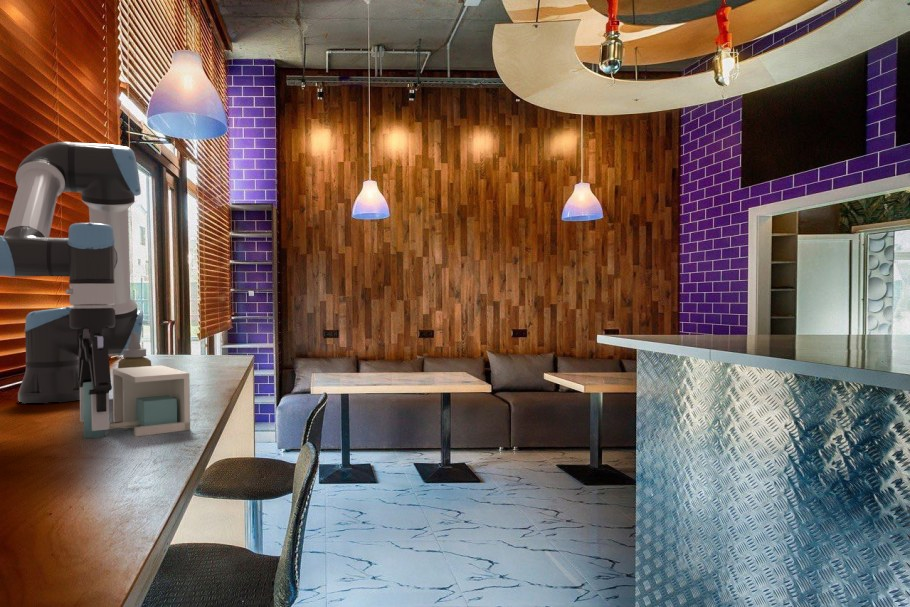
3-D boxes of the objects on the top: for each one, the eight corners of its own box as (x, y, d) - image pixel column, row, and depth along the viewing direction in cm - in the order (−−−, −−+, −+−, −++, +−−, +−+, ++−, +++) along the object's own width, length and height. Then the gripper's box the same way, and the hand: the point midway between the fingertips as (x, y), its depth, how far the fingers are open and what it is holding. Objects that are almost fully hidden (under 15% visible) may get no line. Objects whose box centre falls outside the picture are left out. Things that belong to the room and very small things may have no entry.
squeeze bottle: (106, 416, 151) (105, 333, 150) (139, 410, 158) (138, 331, 158) (131, 419, 147) (130, 334, 147) (163, 413, 154) (162, 332, 154)
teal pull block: (81, 434, 130) (80, 381, 130) (168, 424, 140) (168, 375, 140) (86, 440, 126) (86, 384, 125) (177, 429, 135) (176, 378, 135)
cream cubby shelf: (113, 421, 144) (112, 368, 144) (162, 416, 150) (162, 365, 150) (135, 436, 129) (135, 377, 128) (190, 429, 134) (189, 373, 134)
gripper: (59, 306, 136) (61, 418, 136) (81, 308, 117) (83, 437, 117) (102, 306, 140) (103, 414, 141) (129, 307, 122) (130, 432, 122)
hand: (94, 425), depth 129 cm, fingers open, 11 cm apart
